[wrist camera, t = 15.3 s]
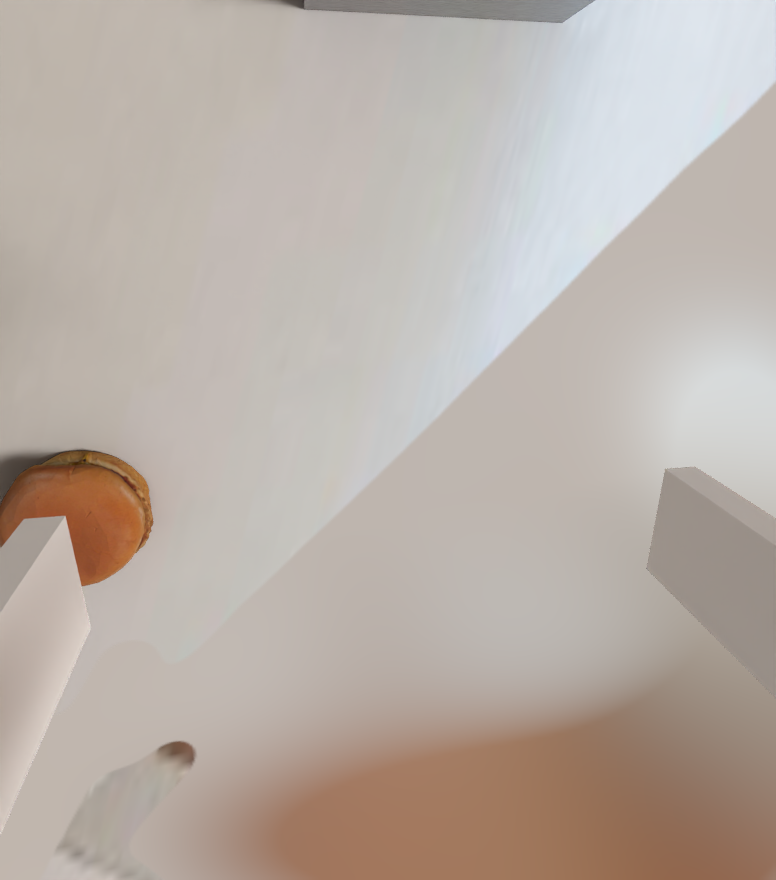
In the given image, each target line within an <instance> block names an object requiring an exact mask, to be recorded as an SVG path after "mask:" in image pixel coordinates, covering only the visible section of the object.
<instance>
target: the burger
mask: <svg viewBox="0 0 776 880" xmlns="http://www.w3.org/2000/svg"><path fill="white" fill-rule="evenodd" d="M55 516H66V520H67V525H68V529H69V533H70V538H71V542H72V547H73V551H74V555H75V560H76V564H77V568H78V573H79V577H80V582H81V586H86V585H90V584H94V583H98V582H100V581H102V580H104V579H106V578H108V577H110V576H111V575H113V574H115V573H116V572H117V571H119V570H120V569H121V568H123V567H124V566H125V565H126V564H127V563H128V562H129V561H130V560H131V559H132V557H133V555H134V554H135V553H137V551H139V549H140V548H142V547H143V546H144V545H145V543H146V541H147V540H148V538H149V533H150V532H151V526H152V525H153V522H154V521H153V517H152V511H151V505H150V498H149V489H148V485H147V483H146V481H145V479H144V478H143V477H142V476H141V475H140V474H139V473H138V472H137V471H136V470H135V469H134V468H133V467H132V466H130V465H128V464H127V463H126V462H124V461H122V460H120V459H119V458H116V457H114V456H112V455H107V454H103V453H98V452H92V451H70V452H64V453H61V454H58V455H57V456H55V457H53V458H51V459H50V460H48V461H46V462H44V463H42V464H41V465H34V466H32V467H30V468H28V469H27V470H25V471H23V472H22V473H20V474H19V475H18V477H17V478H16V479H15V481H14V483H13V484H12V486H11V487H10V489H9V490H8V492H7V493H6V495H5V496H4V498H3V501H2V503H1V505H0V547H2V546H3V545H4V544H5V542H6V541H7V540H8V538H9V537H10V536H11V535H12V533H13V532H14V531H15V530H16V528H17V527H18V526H19V525H20V523H21V522H22V521H23V520H24V519H29V518H42V517H55Z"/></svg>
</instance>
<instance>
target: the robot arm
mask: <svg viewBox="0 0 776 880" xmlns="http://www.w3.org/2000/svg"><path fill="white" fill-rule="evenodd" d="M646 569H647V570H648V571H649V572H650V573H651V574H652V575H653V576H654V577H655V578H656V579H657V580H658V581H659V582H660V583H661V584H662V585H663V586H664V587H665V588H666V589H667V590H668V591H669V592H670V593H671V594H672V595H673V596H674V597H675V598H676V599H677V600H678V601H679V602H680V603H681V604H682V605H683V606H684V607H685V608H686V609H687V610H688V611H689V612H690V613H691V614H692V615H693V616H694V617H695V618H696V619H697V620H698V621H699V622H700V623H701V624H702V625H703V626H704V627H705V628H706V629H707V630H708V631H709V632H710V633H711V634H712V635H713V636H714V637H715V638H716V639H717V640H718V641H719V642H720V643H721V644H722V645H723V646H724V647H725V648H726V649H727V650H728V651H729V652H730V653H731V654H732V655H733V656H734V657H735V658H736V659H737V660H738V661H739V662H740V663H741V664H742V665H743V666H744V667H745V668H746V669H747V670H748V671H749V672H750V673H751V674H752V675H753V676H754V677H755V678H756V679H757V680H758V681H759V682H760V683H761V684H762V685H763V686H764V687H765V688H766V689H767V690H768V691H769V692H770V693H771V694H772V695H773V696H774V697H775V698H776V518H774V517H773V516H771V515H770V514H768V513H766V512H765V511H763V510H761V509H760V508H759V507H757V506H756V505H754V504H752V503H751V502H749V501H748V500H746V499H745V498H743V497H741V496H740V495H738V494H737V493H735V492H734V491H732V490H730V489H729V488H727V487H726V486H724V485H723V484H721V483H720V482H718V481H716V480H715V479H713V478H712V477H710V476H709V475H707V474H706V473H704V472H702V471H701V470H699V469H698V468H696V467H685V468H673V469H665V473H664V479H663V484H662V489H661V494H660V500H659V505H658V511H657V515H656V521H655V526H654V531H653V537H652V542H651V547H650V553H649V558H648V563H647V568H646ZM90 629H91V625H90V621H89V617H88V612H87V608H86V603H85V599H84V595H83V590H82V586H81V582H80V577H79V573H78V568H77V564H76V560H75V555H74V551H73V547H72V542H71V538H70V533H69V529H68V525H67V520H66V516H55V517H42V518H29V519H24V520H23V521H22V522H21V523H20V525H19V526H18V527H17V528H16V530H15V531H14V532H13V533H12V535H11V536H10V537H9V538H8V540H7V541H6V542H5V544H4V545H3V546H2V547H1V549H0V835H1V833H2V831H3V828H4V826H5V824H6V822H7V819H8V817H9V815H10V812H11V810H12V807H13V805H14V803H15V801H16V798H17V796H18V794H19V792H20V789H21V787H22V785H23V782H24V780H25V778H26V776H27V773H28V771H29V769H30V766H31V764H32V762H33V760H34V757H35V755H36V753H37V750H38V748H39V746H40V743H41V741H42V739H43V736H44V734H45V732H46V730H47V727H48V725H49V723H50V721H51V718H52V716H53V714H54V711H55V709H56V707H57V705H58V702H59V700H60V698H61V695H62V693H63V691H64V688H65V686H66V684H67V682H68V679H69V677H70V675H71V672H72V670H73V668H74V666H75V663H76V661H77V659H78V656H79V654H80V652H81V649H82V647H83V645H84V643H85V640H86V638H87V636H88V633H89V631H90Z"/></svg>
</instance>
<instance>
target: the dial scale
mask: <svg viewBox="0 0 776 880" xmlns="http://www.w3.org/2000/svg"><path fill="white" fill-rule="evenodd" d="M593 1H595V0H304V9H311V10H330V11H349V12H367V13H386V14H405V15H424V16H443V17H462V18H481V19H500V20H519V21H538V22H557V23H563V22H564V21H565V20H567V19H568V18H570V17H571V16H573V15H574V14H576V13H577V12H579V11H580V10H582V9H583V8H584V7H586V6H587V5H589V4H590V3H592V2H593Z"/></svg>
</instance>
